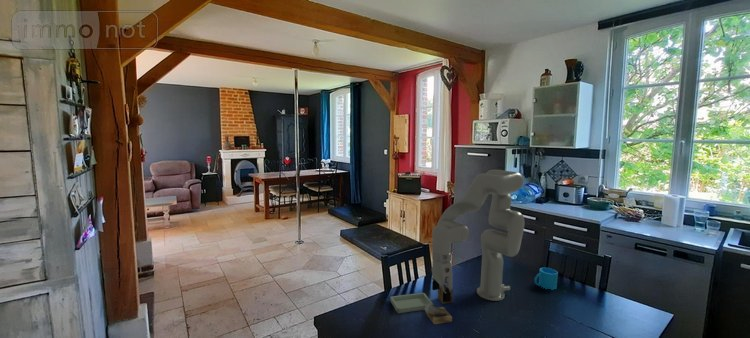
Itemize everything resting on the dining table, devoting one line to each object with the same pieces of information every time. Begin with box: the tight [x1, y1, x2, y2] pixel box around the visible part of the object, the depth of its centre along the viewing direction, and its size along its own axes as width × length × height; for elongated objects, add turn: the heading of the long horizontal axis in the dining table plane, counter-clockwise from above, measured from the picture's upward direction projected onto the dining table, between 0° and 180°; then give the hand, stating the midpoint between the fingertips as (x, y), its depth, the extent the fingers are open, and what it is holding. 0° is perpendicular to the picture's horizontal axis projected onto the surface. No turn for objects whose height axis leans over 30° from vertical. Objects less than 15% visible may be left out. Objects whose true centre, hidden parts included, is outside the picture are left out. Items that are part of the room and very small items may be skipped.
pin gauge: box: [424, 304, 446, 317], centre depth 132 cm, size 3×3×8 cm
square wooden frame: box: [425, 306, 453, 325], centre depth 132 cm, size 8×8×2 cm
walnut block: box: [437, 285, 454, 305], centre depth 146 cm, size 5×5×6 cm
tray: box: [389, 292, 435, 314], centre depth 142 cm, size 17×11×2 cm, turn 105°
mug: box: [534, 267, 559, 291], centre depth 161 cm, size 12×8×8 cm
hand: (441, 295), depth 132 cm, fingers open, 9 cm apart
